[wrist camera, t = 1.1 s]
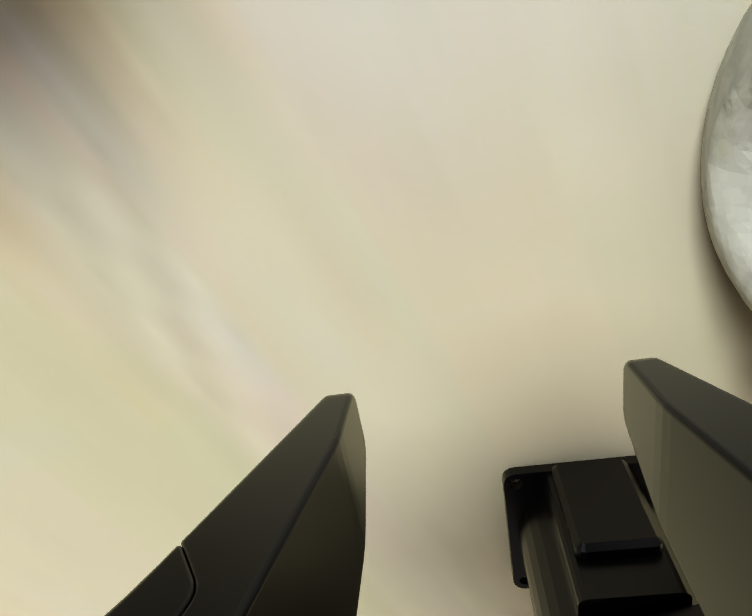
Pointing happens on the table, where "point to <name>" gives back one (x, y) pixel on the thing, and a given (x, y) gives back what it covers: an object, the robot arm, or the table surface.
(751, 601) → the robot arm
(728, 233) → the dish
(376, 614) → the table surface
